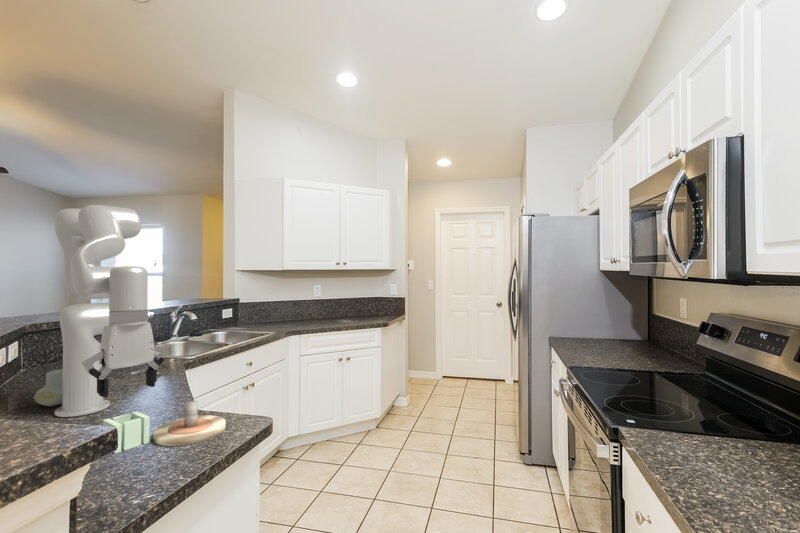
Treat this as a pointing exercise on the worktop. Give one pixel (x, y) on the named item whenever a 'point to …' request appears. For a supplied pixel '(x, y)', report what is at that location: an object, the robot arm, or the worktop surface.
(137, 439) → the collar
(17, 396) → the worktop surface
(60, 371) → the air freshener
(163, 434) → the post base
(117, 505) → the worktop surface
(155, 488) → the worktop surface
